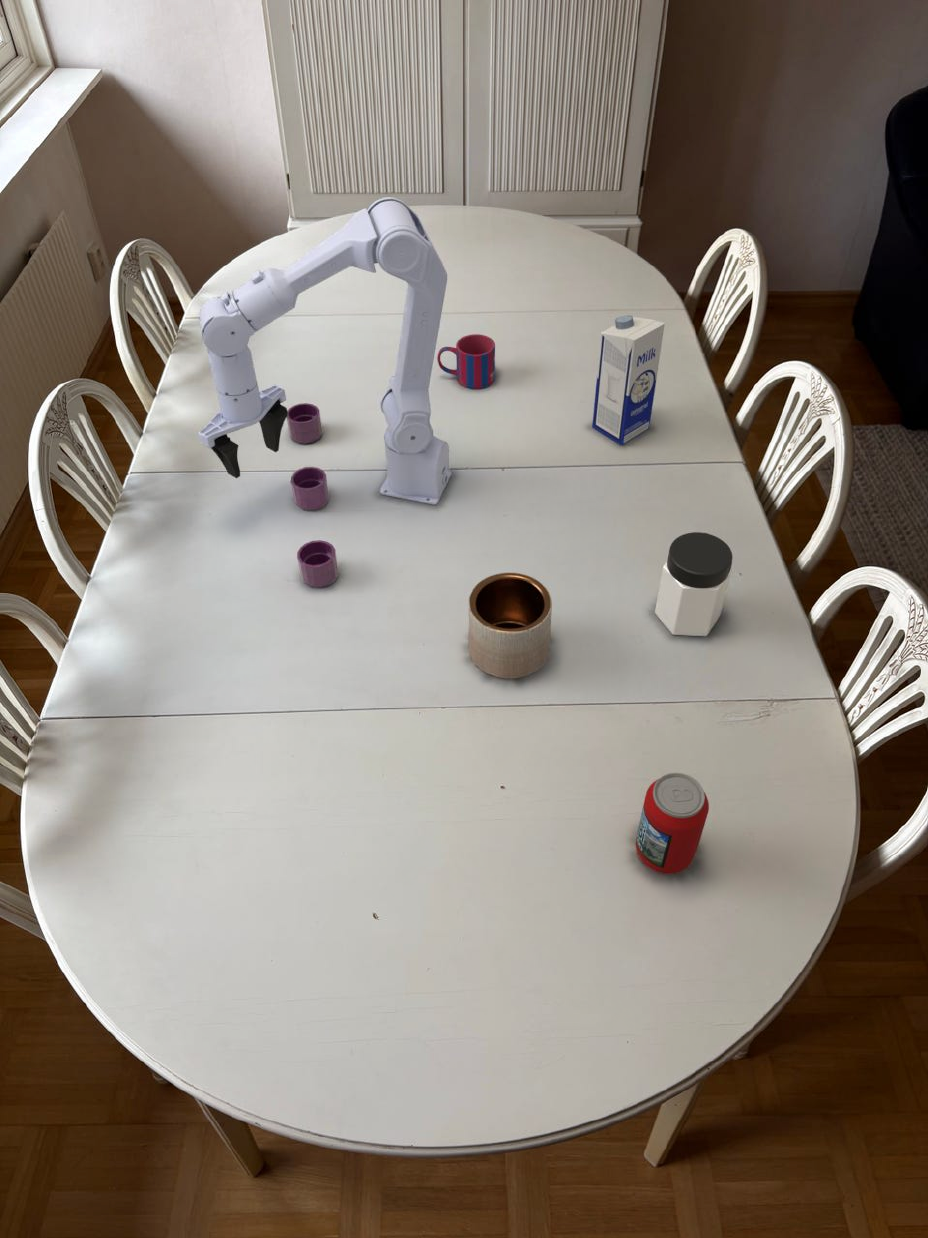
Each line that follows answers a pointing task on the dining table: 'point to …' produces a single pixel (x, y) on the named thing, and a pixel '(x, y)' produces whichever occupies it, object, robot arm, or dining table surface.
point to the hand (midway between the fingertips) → (253, 461)
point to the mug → (473, 361)
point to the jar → (694, 584)
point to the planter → (509, 625)
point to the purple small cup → (318, 563)
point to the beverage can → (671, 823)
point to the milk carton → (627, 377)
